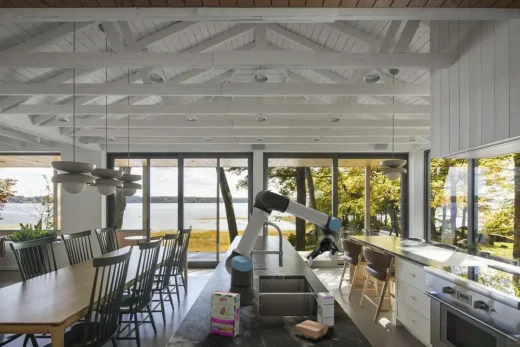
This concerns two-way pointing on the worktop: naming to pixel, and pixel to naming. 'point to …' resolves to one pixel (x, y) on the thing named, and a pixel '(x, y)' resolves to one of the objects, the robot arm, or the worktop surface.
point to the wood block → (311, 328)
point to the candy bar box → (225, 313)
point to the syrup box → (325, 309)
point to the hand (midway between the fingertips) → (319, 261)
